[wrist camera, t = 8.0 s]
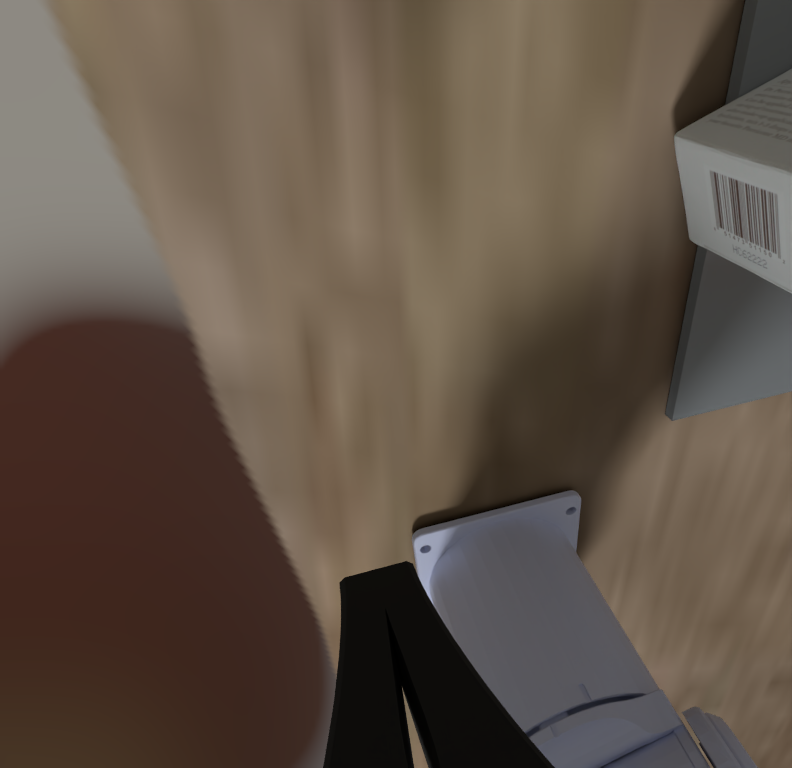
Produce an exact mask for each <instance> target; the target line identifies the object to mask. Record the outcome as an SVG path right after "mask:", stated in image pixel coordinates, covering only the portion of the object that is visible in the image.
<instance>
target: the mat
mask: <svg viewBox="0 0 792 768" xmlns="http://www.w3.org/2000/svg"><path fill="white" fill-rule="evenodd" d="M790 69H792V0H745V5H744V10H743V15H742V20H741V26H740V31H739V36H738V41H737V46H736V51H735V57H734V62H733V67H732V72H731V77H730V82H729V88H728V93H727V98H726V103H725V105H726V104H728V103H730V102H732V101H734V100H736V99H737V98H739V97H741V96H743V95H745V94H747V93H748V92H750V91H752V90H754V89H755V88H757V87H759V86H761V85H763V84H765V83H767V82H768V81H770V80H772V79H774V78H776V77H777V76H779V75H781V74H783V73H785V72H786V71H788V70H790ZM790 391H792V293H790V292H788V291H786V290H784V289H782V288H780V287H778V286H776V285H775V284H773V283H771V282H769V281H767V280H765V279H764V278H762V277H760V276H758V275H756V274H755V273H753V272H751V271H749V270H747V269H745V268H743V267H741V266H739V265H737V264H735V263H733V262H731V261H729V260H727V259H725V258H723V257H721V256H719V255H717V254H715V253H714V252H712V251H710V250H708V249H706V248H704V247H702V246H699V245H698V247H697V253H696V258H695V263H694V268H693V273H692V278H691V284H690V289H689V294H688V299H687V304H686V309H685V315H684V320H683V325H682V330H681V335H680V340H679V345H678V351H677V356H676V361H675V366H674V371H673V376H672V382H671V387H670V392H669V397H668V402H667V407H666V413H665V414H666V415H667V416H668V417H669V418H670V419H671V420H672V421H674V420H678V419H682V418H686V417H690V416H694V415H698V414H702V413H706V412H710V411H714V410H718V409H722V408H726V407H730V406H734V405H738V404H742V403H746V402H750V401H754V400H758V399H762V398H766V397H770V396H774V395H778V394H782V393H786V392H790Z"/></svg>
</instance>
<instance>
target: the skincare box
mask: <svg viewBox="0 0 792 768" xmlns="http://www.w3.org/2000/svg"><path fill="white" fill-rule="evenodd" d="M674 143H675V152H676V159H677V164H678V169H679V175H680V181H681V187H682V193H683V199H684V206H685V212H686V219H687V227H688V234H689V238H690V240H691V241H692V242H693V243H695V244H697V245H699V246H702V247H704V248H706V249H708V250H710V251H712V252H714V253H715V254H717V255H719V256H721V257H723V258H725V259H727V260H729V261H731V262H733V263H735V264H737V265H739V266H741V267H743V268H745V269H747V270H749V271H751V272H753V273H755V274H756V275H758V276H760V277H762V278H764V279H765V280H767V281H769V282H771V283H773V284H775V285H776V286H778V287H780V288H782V289H784V290H786V291H788V292H790V293H792V69H790V70H788V71H786V72H785V73H783V74H781V75H779V76H777V77H776V78H774V79H772V80H770V81H768V82H767V83H765V84H763V85H761V86H759V87H757V88H755V89H754V90H752V91H750V92H748V93H747V94H745V95H743V96H741V97H739V98H737V99H736V100H734V101H732V102H730V103H728V104H726V105H725V106H723V107H721V108H719V109H717V110H716V111H714V112H712V113H710V114H708V115H706V116H705V117H703V118H701V119H699V120H697V121H696V122H694V123H692V124H690V125H688V126H687V127H685V128H683V129H682V130H680V131H678V132H677V133H676V134H675V136H674Z"/></svg>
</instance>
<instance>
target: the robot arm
mask: <svg viewBox="0 0 792 768" xmlns="http://www.w3.org/2000/svg"><path fill="white" fill-rule="evenodd" d="M580 509H581V497H580V496H579V494H578V493H577V492H576V491H573V490H570V491H565V492H561V493H557V494H554V495H550V496H546V497H542V498H538V499H534V500H530V501H526V502H522V503H519V504H515V505H511V506H507V507H503V508H499V509H495V510H491V511H488V512H484V513H480V514H476V515H472V516H468V517H464V518H460V519H456V520H453V521H449V522H445V523H441V524H437V525H433V526H429V527H425V528H422V529H419V530H417V531H416V532H415V533H414V534H413V536H412V543H413V549H414V556H415V563H416V569H417V573H416V571H415V568H414V566H413V564H412V563H410V562H407V561H405V562H402V563H398V564H394V565H390V566H387V567H383V568H379V569H375V570H371V571H368V572H364V573H360V574H356V575H353V576H349V577H345V578H344V579H343V580H342V581H341V582H340V593H341V635H340V651H339V662H338V671H337V680H336V689H335V699H334V705H333V712H332V718H331V725H330V730H329V736H328V743H327V749H326V755H325V761H324V766H323V768H414V764H413V758H412V751H411V744H410V738H409V731H408V724H407V718H406V711H405V705H404V698H403V691H404V694H405V697H406V700H407V703H408V706H409V709H410V712H411V715H412V718H413V721H414V724H415V728H416V731H417V734H418V737H419V740H420V743H421V746H422V749H423V752H424V755H425V758H426V761H427V764H428V767H429V768H710V766H709V765H708V763H707V761H706V760H705V758H704V757H703V755H702V753H701V752H700V750H699V748H698V747H697V745H696V743H695V742H694V740H693V739H692V737H691V735H690V734H689V732H688V730H687V729H686V727H685V726H684V724H683V722H682V721H681V719H680V718H679V716H678V714H677V713H676V711H675V710H674V708H673V706H672V705H671V703H670V702H669V700H668V698H667V697H666V695H665V694H664V692H663V690H661V689H659V687H658V686H657V684H656V683H655V681H654V679H653V678H652V676H651V674H650V673H649V671H648V669H647V668H646V666H645V664H644V663H643V661H642V660H641V658H640V656H639V655H638V653H637V651H636V650H635V648H634V646H633V645H632V643H631V642H630V640H629V638H628V637H627V635H626V633H625V632H624V630H623V628H622V627H621V625H620V624H619V622H618V620H617V619H616V617H615V615H614V614H613V612H612V610H611V609H610V607H609V605H608V604H607V602H606V601H605V599H604V597H603V596H602V594H601V592H600V591H599V589H598V587H597V586H596V584H595V583H594V581H593V579H592V578H591V576H590V574H589V573H588V571H587V569H586V568H585V566H584V564H583V563H582V561H581V560H580V558H579V556H578V555H577V553H576V549H577V539H578V529H579V519H580ZM425 545H426V546H425ZM402 688H403V691H402ZM682 713H683V715H684V716H685V718H686V720H687V721H688V723H689V725H690V726H691V728H692V729H693V731H694V733H695V734H696V736H697V738H698V739H699V741H700V743H699V745H700V746H701V748H702V750H703V751H704V753H705V754H706V756H707V758H708V759H709V761H710V763H711V764H712V766H713V767H714V768H758V767H757V766H756V764H755V763H754V762H753V760H752V759H751V757H750V756H749V754H748V753H747V752H746V750H745V749H744V747H743V746H742V744H741V743H740V742H739V740H738V739H737V737H736V736H735V735H734V733H733V732H732V731H731V729H730V728H729V727H728V725H727V724H726V723H725V722H724V721H723V719H722V718H720V717H718V716H715V715H713V714H710V713H704V712H703V711H702V710H701V709H700V708H699V707H692V708H690V709H688V710H686V711H684V712H682Z"/></svg>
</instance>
